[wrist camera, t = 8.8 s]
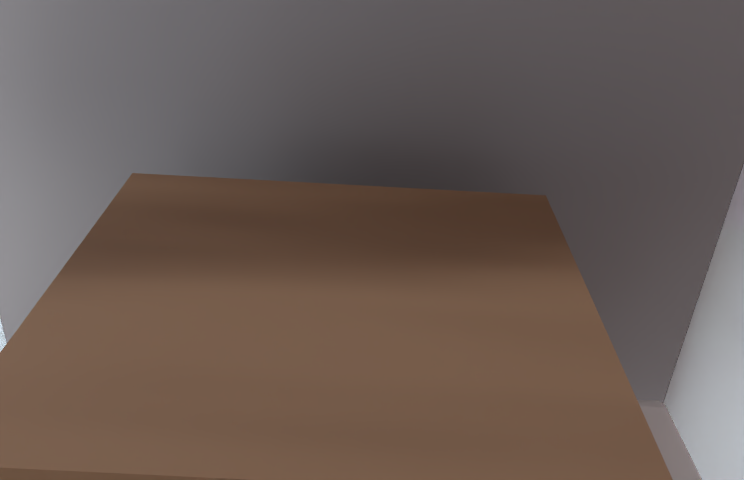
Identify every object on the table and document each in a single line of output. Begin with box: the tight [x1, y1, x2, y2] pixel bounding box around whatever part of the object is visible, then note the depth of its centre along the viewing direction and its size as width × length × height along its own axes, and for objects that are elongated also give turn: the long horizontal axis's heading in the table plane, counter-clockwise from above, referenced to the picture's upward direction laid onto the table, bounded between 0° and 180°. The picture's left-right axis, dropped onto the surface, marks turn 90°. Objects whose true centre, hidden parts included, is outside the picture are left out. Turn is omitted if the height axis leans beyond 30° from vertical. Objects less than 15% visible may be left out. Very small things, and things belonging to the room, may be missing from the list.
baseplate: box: [0, 0, 744, 404], centre depth 13 cm, size 12×12×1 cm
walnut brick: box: [0, 173, 673, 480], centre depth 9 cm, size 6×6×5 cm
